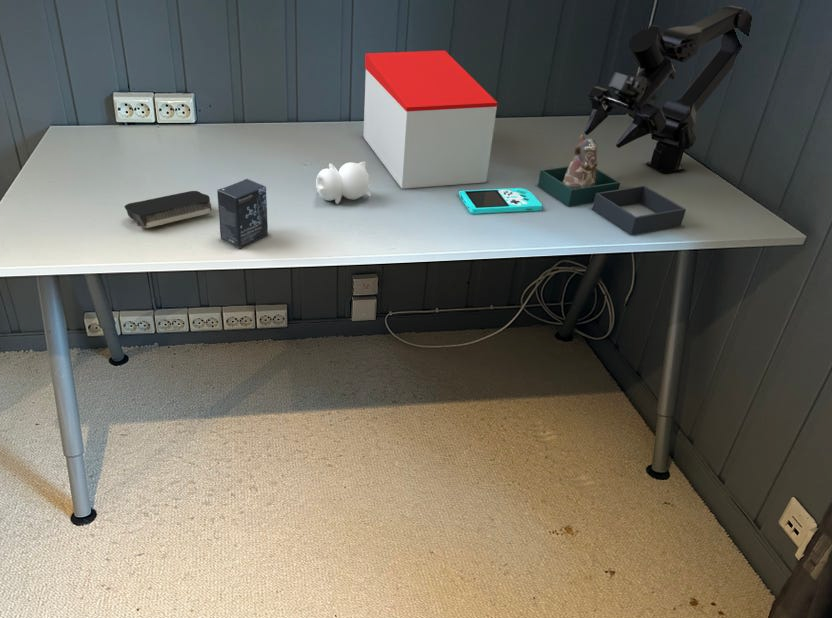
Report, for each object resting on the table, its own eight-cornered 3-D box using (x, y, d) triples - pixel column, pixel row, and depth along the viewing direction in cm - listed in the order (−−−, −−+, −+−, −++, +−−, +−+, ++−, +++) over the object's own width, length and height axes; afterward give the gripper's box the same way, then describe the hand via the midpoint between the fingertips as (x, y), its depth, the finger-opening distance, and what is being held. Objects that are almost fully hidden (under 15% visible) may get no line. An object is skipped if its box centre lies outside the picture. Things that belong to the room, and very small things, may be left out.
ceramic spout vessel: (572, 198, 163) (583, 145, 156) (555, 185, 168) (565, 134, 161) (599, 194, 165) (612, 142, 158) (582, 182, 170) (593, 131, 163)
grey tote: (639, 201, 163) (644, 185, 161) (680, 225, 154) (686, 209, 151) (591, 209, 159) (595, 193, 157) (630, 235, 149) (635, 218, 147)
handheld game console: (542, 210, 158) (543, 205, 157) (471, 214, 156) (471, 208, 155) (526, 192, 166) (527, 186, 165) (458, 195, 164) (458, 189, 163)
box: (239, 249, 141) (236, 197, 134) (220, 240, 143) (215, 189, 137) (269, 235, 145) (266, 185, 139) (249, 227, 148) (246, 177, 142)
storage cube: (436, 131, 197) (444, 50, 185) (486, 182, 170) (499, 90, 158) (362, 136, 193) (365, 53, 181) (401, 188, 166) (407, 94, 153)
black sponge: (139, 234, 145) (137, 217, 142) (125, 218, 150) (122, 201, 148) (215, 216, 152) (214, 200, 150) (199, 201, 158) (197, 185, 156)
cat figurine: (315, 161, 153) (370, 154, 155) (305, 171, 163) (357, 164, 166) (323, 203, 153) (377, 195, 156) (313, 211, 164) (363, 203, 167)
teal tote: (584, 178, 173) (587, 163, 171) (616, 198, 164) (620, 182, 162) (537, 185, 169) (540, 170, 167) (568, 206, 160) (571, 190, 158)
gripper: (602, 48, 161) (556, 106, 162) (672, 68, 148) (622, 131, 150) (619, 80, 169) (575, 135, 170) (686, 102, 156) (638, 161, 158)
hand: (601, 140), depth 162 cm, fingers open, 9 cm apart
